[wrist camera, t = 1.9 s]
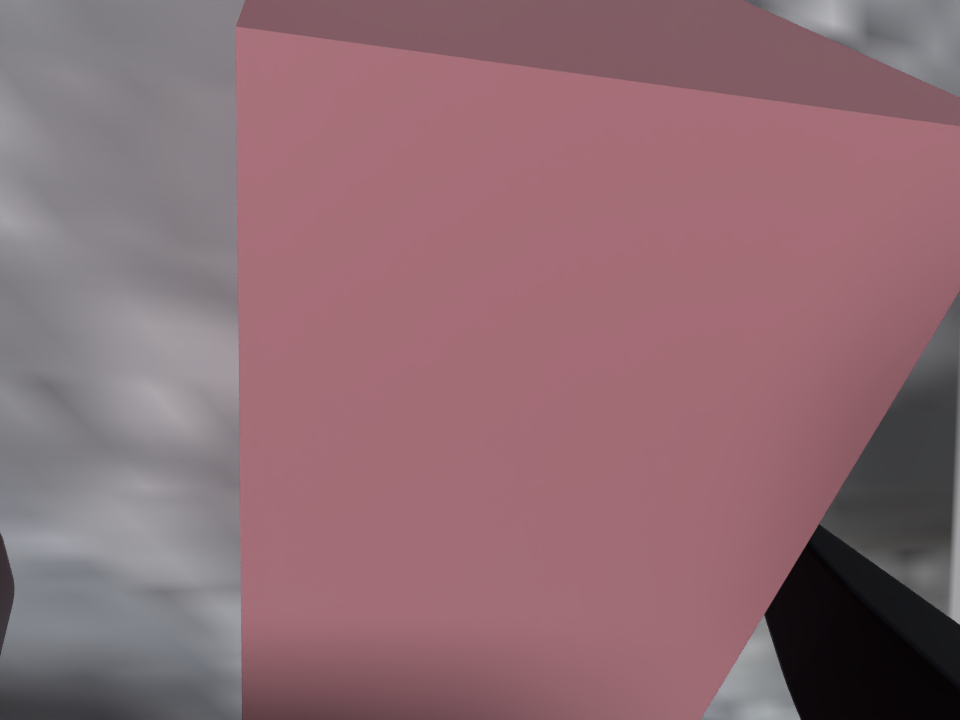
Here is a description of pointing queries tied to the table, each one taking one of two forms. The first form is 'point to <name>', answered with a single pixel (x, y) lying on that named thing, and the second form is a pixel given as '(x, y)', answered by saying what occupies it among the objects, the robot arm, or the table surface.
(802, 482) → the boxed book
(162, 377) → the table surface
